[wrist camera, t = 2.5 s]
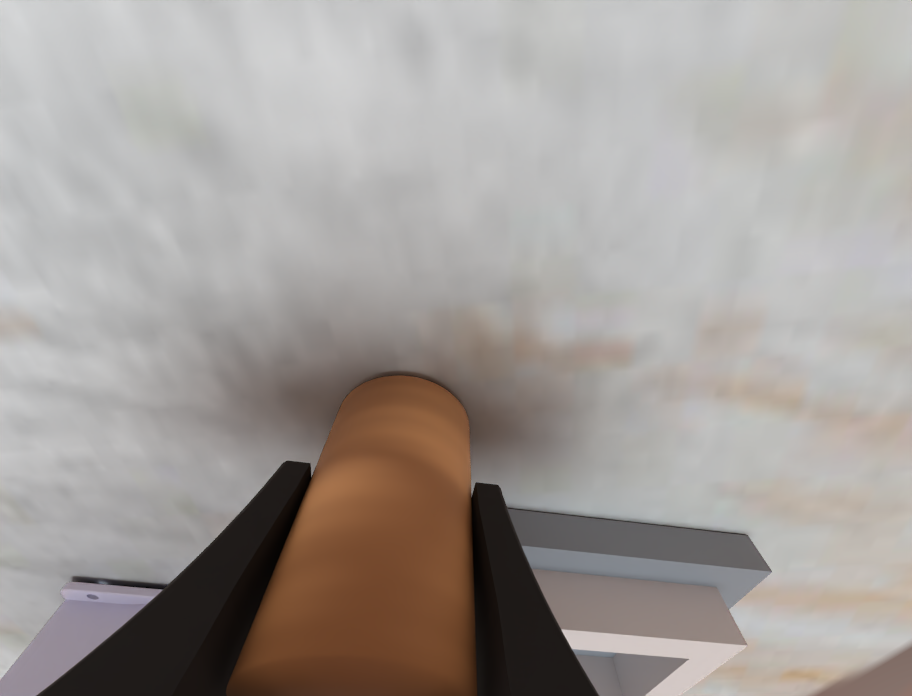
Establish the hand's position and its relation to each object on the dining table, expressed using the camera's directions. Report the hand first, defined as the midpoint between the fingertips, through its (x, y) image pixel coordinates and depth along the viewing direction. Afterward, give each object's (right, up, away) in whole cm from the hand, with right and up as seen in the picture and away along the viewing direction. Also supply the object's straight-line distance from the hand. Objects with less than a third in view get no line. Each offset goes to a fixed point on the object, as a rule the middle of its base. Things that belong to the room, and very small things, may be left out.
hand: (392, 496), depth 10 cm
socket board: (+7, -8, +8) cm, 14 cm away
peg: (0, +1, +2) cm, 3 cm away
